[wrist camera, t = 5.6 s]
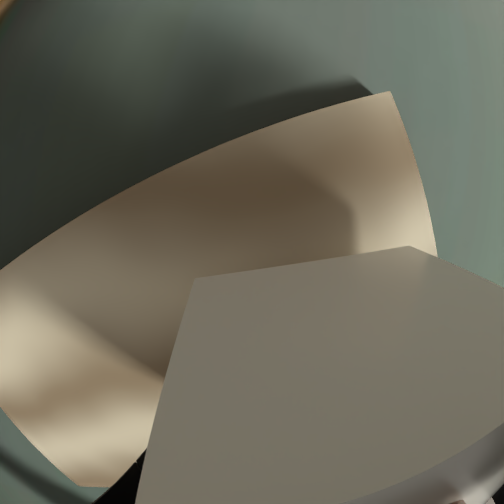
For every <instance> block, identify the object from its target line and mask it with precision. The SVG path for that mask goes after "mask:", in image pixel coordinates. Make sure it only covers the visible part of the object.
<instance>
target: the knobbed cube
mask: <svg viewBox="0 0 504 504" xmlns="http://www.w3.org/2000/svg"><path fill="white" fill-rule="evenodd" d="M503 484H504V288H503V287H501V286H499V285H497V284H495V283H493V282H491V281H489V280H487V279H484V278H482V277H480V276H478V275H476V274H474V273H472V272H469V271H467V270H465V269H463V268H461V267H458V266H456V265H454V264H452V263H449V262H447V261H445V260H442V259H440V258H438V257H435V256H433V255H431V254H428V253H426V252H424V251H421V250H419V249H416V248H414V247H412V246H403V247H397V248H391V249H385V250H379V251H373V252H367V253H361V254H355V255H348V256H342V257H336V258H330V259H323V260H317V261H310V262H304V263H297V264H291V265H284V266H277V267H270V268H264V269H257V270H250V271H243V272H236V273H229V274H222V275H215V276H207V277H200V278H195V279H194V282H193V285H192V289H191V292H190V295H189V298H188V301H187V304H186V308H185V311H184V314H183V317H182V321H181V324H180V327H179V331H178V334H177V337H176V341H175V344H174V348H173V351H172V355H171V358H170V362H169V365H168V369H167V372H166V376H165V380H164V383H163V387H162V391H161V395H160V398H159V402H158V406H157V410H156V414H155V418H154V422H153V426H152V430H151V434H150V438H149V442H148V446H147V450H146V455H145V459H144V463H143V468H142V472H141V477H140V481H139V486H138V491H137V496H136V501H135V504H485V503H486V502H487V501H488V500H489V499H490V498H491V497H492V496H493V495H494V494H495V493H496V492H497V491H498V490H499V489H500V488H501V486H502V485H503Z"/></svg>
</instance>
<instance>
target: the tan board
mask: <svg viewBox="0 0 504 504" xmlns="http://www.w3.org/2000/svg"><path fill="white" fill-rule="evenodd" d="M403 246H412V247H414V248H416V249H419V250H421V251H424V252H426V253H428V254H431V255H433V256H435V257H438V256H437V250H436V244H435V239H434V233H433V228H432V223H431V218H430V214H429V209H428V205H427V201H426V196H425V192H424V189H423V185H422V181H421V177H420V174H419V170H418V167H417V164H416V160H415V157H414V154H413V151H412V148H411V145H410V142H409V139H408V136H407V133H406V130H405V127H404V125H403V122H402V119H401V117H400V114H399V112H398V109H397V107H396V104H395V102H394V99H393V97H392V94H391V92H390V91H388V92H383V93H379V94H375V95H370V96H366V97H362V98H358V99H354V100H351V101H347V102H343V103H340V104H336V105H333V106H329V107H326V108H322V109H319V110H316V111H312V112H309V113H306V114H303V115H300V116H297V117H294V118H291V119H288V120H285V121H282V122H279V123H276V124H273V125H270V126H268V127H265V128H262V129H259V130H257V131H254V132H251V133H249V134H246V135H244V136H241V137H238V138H236V139H233V140H231V141H228V142H226V143H224V144H221V145H219V146H216V147H214V148H212V149H209V150H207V151H205V152H202V153H200V154H198V155H196V156H193V157H191V158H189V159H187V160H184V161H182V162H180V163H178V164H176V165H174V166H172V167H169V168H167V169H165V170H163V171H161V172H159V173H157V174H155V175H153V176H151V177H149V178H147V179H145V180H143V181H141V182H139V183H137V184H135V185H134V186H132V187H130V188H128V189H126V190H124V191H122V192H120V193H119V194H117V195H115V196H113V197H111V198H110V199H108V200H106V201H104V202H102V203H101V204H99V205H97V206H96V207H94V208H92V209H90V210H89V211H87V212H85V213H84V214H82V215H80V216H79V217H77V218H75V219H74V220H72V221H71V222H69V223H67V224H66V225H64V226H63V227H61V228H60V229H58V230H56V231H55V232H53V233H52V234H50V235H49V236H47V237H46V238H44V239H43V240H41V241H40V242H38V243H37V244H35V245H34V246H33V247H31V248H30V249H28V250H27V251H26V252H24V253H23V254H21V255H20V256H19V257H17V258H16V259H14V260H13V261H12V262H10V263H9V264H8V265H6V266H5V267H4V268H3V269H1V270H0V407H1V408H2V409H3V411H4V412H5V413H6V414H7V416H8V417H9V418H10V419H11V420H12V422H13V423H14V424H15V425H16V426H17V427H18V429H19V430H20V431H21V432H22V433H23V434H24V435H25V436H26V437H27V439H28V440H29V441H30V442H31V443H32V444H33V445H34V446H35V447H36V448H37V449H38V450H39V451H40V452H41V453H42V454H43V455H44V456H45V457H46V458H47V459H48V460H49V461H50V462H52V463H53V464H54V465H55V466H56V467H57V468H58V469H59V470H60V471H61V472H63V473H64V474H65V475H66V476H67V477H68V478H70V479H71V480H72V481H73V482H74V483H76V484H77V485H78V486H88V487H111V486H112V485H113V484H114V483H116V481H117V480H118V479H119V478H120V477H121V476H122V475H123V474H124V473H125V472H126V471H127V470H128V469H129V468H130V466H131V465H132V464H133V463H134V462H136V460H137V459H138V457H139V456H140V455H141V454H142V453H143V452H144V451H145V449H146V448H147V446H148V442H149V438H150V434H151V430H152V426H153V422H154V418H155V414H156V410H157V406H158V402H159V398H160V395H161V391H162V387H163V383H164V380H165V376H166V372H167V369H168V365H169V362H170V358H171V355H172V351H173V348H174V344H175V341H176V337H177V334H178V331H179V327H180V324H181V321H182V317H183V314H184V311H185V308H186V304H187V301H188V298H189V295H190V292H191V289H192V285H193V282H194V279H195V278H200V277H207V276H215V275H222V274H229V273H236V272H243V271H250V270H257V269H264V268H270V267H277V266H284V265H291V264H297V263H304V262H310V261H317V260H323V259H330V258H336V257H342V256H348V255H355V254H361V253H367V252H373V251H379V250H385V249H391V248H397V247H403ZM136 463H137V462H136Z"/></svg>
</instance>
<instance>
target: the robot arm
mask: <svg viewBox="0 0 504 504" xmlns="http://www.w3.org/2000/svg"><path fill="white" fill-rule="evenodd" d="M146 450H147V448H146V449H145V451H144V452H143V453H142V454H141V455H140V456H139V457H138V459H137V460H136V462H137V463H136V462H134V463H133V464H132V465H131V466H130V468H129V469H128V470H127V471H126V472H125V473H124V474H123V475H122V476H121V477H120V478H119V479H118V480H117V481H116V483H114V484H113V485H112V486H111V487H110V488H109V489H108V490H107V491H106V492H105V493H103V494H102V495H101V496H100V497H99V498H98V499H96V500H95V501H94V502H93V503H91V504H135V501H136V496H137V491H138V486H139V481H140V477H141V472H142V468H143V463H144V459H145V455H146ZM492 498H493V500H494V502H495V504H504V484H503V485H502V486H501V488H500V489H499V490H498V491H497V492H496V493H495V494H494V495H493V496H492Z"/></svg>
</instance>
